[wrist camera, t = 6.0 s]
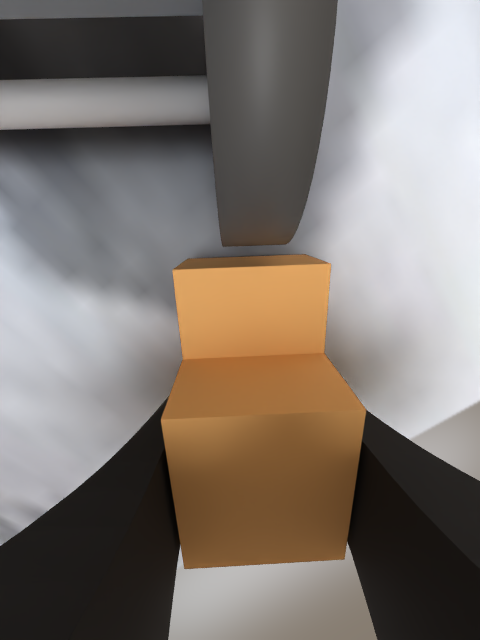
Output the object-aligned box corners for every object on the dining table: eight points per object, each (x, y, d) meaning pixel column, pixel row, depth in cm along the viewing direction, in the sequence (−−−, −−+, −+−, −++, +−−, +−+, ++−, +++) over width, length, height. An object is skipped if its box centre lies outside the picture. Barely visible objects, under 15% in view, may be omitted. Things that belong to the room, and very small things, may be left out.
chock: (297, 422, 11) (344, 559, 7) (203, 426, 11) (184, 569, 7) (305, 254, 9) (384, 283, 4) (187, 258, 9) (140, 292, 4)
